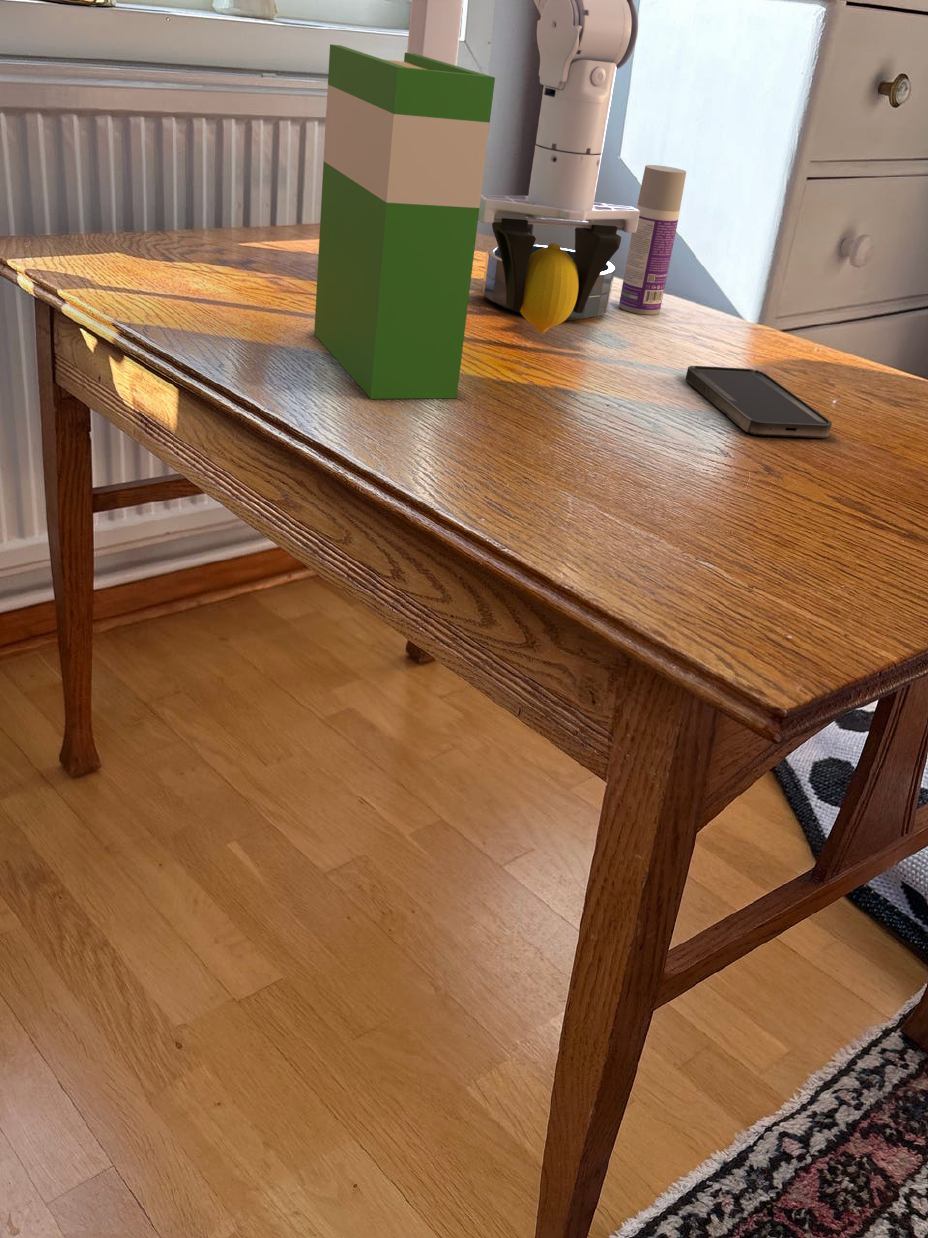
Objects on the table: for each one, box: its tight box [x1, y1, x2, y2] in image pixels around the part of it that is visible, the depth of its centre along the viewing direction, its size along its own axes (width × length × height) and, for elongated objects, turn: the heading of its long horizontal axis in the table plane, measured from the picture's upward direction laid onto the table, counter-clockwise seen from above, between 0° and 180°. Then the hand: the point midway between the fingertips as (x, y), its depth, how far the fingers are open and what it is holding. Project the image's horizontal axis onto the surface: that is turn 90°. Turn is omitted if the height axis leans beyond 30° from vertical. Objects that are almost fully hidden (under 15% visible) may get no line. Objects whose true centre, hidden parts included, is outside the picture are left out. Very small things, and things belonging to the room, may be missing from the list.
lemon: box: [520, 242, 579, 334], centre depth 102 cm, size 6×6×8 cm
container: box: [618, 164, 687, 316], centre depth 124 cm, size 5×5×15 cm
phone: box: [685, 365, 833, 439], centre depth 100 cm, size 8×1×15 cm
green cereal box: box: [313, 43, 496, 400], centre depth 93 cm, size 18×7×24 cm, turn 21°
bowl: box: [481, 244, 616, 321], centre depth 123 cm, size 14×14×5 cm
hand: (544, 308), depth 103 cm, fingers closed on lemon, 5 cm apart
